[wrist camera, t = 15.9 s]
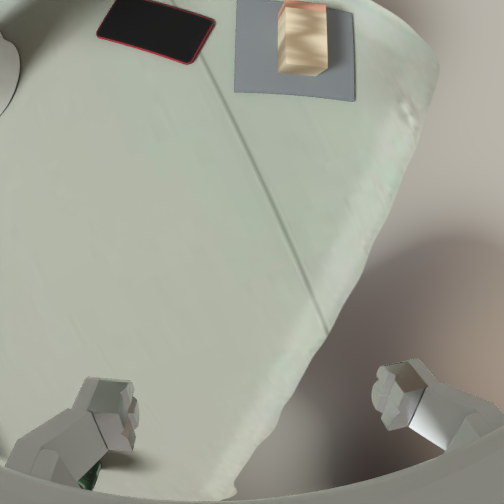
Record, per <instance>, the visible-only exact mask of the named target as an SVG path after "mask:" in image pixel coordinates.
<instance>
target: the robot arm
mask: <svg viewBox="0 0 504 504" xmlns="http://www.w3.org/2000/svg"><path fill="white" fill-rule="evenodd" d="M19 71H20V59H19V54H18V51H17V49H16V47H15V46H14V45H13V44H12V43H11V42H9V41H7V40H5V39H4V38H3V37H2V34H1V32H0V114H1V113H2V112H3V111H4V109H5V108H6V106H7V105H8V103H9V101H10V100H11V98H12V95H13V93H14V91H15V88H16V85H17V82H18V77H19ZM376 376H377V377H378V379H379V380H378V381H377V382H376V383H375V384H374V385H373V389H372V402H373V405H374V407H375V409H376V410H378V411H380V412H381V413H382V416H381V419H382V421H383V422H384V424H385V426H386V428H387V429H388V431H390V430H394V429H398V428H402V427H406V426H409V427H410V428H411V429H413V430H414V431H416V432H417V433H419V434H420V435H422V436H424V437H425V438H427V439H428V440H430V441H431V442H433V443H435V444H436V445H438V446H439V447H441V448H442V449H444V450H445V453H444V454H443V455H441V456H439V457H436V458H434V459H431V460H428V461H426V462H423V463H420V464H418V465H415V466H412V467H409V468H406V469H403V470H400V471H397V472H394V473H391V474H387V475H384V476H381V477H377V478H374V479H370V480H367V481H362V482H359V483H354V484H351V485H346V486H342V487H337V488H332V489H327V490H323V491H317V492H311V493H305V494H299V495H291V496H284V497H275V498H266V499H254V500H239V501H171V500H156V499H145V498H136V497H127V496H120V495H113V494H107V493H101V492H95V491H90V490H85V489H81V487H80V486H79V485H78V483H77V481H78V480H79V479H80V478H81V477H82V476H83V475H84V474H85V473H86V472H87V471H88V470H89V469H90V468H91V467H92V466H93V465H94V464H95V463H96V462H97V461H98V460H99V459H100V458H101V457H102V456H103V455H104V454H105V453H106V452H107V451H108V450H117V451H129V452H133V448H134V443H135V438H136V436H135V433H134V429H136V428H137V427H138V423H139V406H138V402H137V399H136V398H134V397H133V393H134V387H133V384H132V382H131V381H130V380H118V379H108V378H96V377H87V378H86V379H85V380H84V382H83V385H82V387H81V389H80V391H79V393H78V395H77V398H76V400H75V402H74V404H73V407H72V409H68V408H67V409H66V410H64V411H63V412H61V413H60V414H58V415H57V416H55V417H53V418H52V419H50V420H49V421H47V422H45V423H44V424H42V425H41V426H39V427H38V428H36V429H34V430H33V431H31V432H30V433H28V434H26V435H25V436H23V437H22V438H20V439H18V440H17V442H16V444H15V446H14V448H13V450H12V452H11V454H10V456H9V458H8V460H7V463H6V465H5V467H4V466H1V465H0V504H504V414H503V413H502V412H501V411H500V410H499V408H498V407H497V406H496V405H495V404H494V403H492V402H490V401H487V400H484V399H482V398H480V397H477V396H475V395H472V394H469V393H467V392H464V391H462V390H460V389H457V388H454V387H452V386H450V385H447V384H445V383H442V384H440V383H439V382H438V380H437V379H436V378H435V377H434V376H433V375H432V373H431V372H430V371H429V370H428V369H427V368H426V366H425V365H424V364H423V363H422V362H421V361H420V360H419V359H413V360H408V361H405V362H400V363H394V364H389V365H384V366H380V368H379V369H378V371H377V375H376Z"/></svg>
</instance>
